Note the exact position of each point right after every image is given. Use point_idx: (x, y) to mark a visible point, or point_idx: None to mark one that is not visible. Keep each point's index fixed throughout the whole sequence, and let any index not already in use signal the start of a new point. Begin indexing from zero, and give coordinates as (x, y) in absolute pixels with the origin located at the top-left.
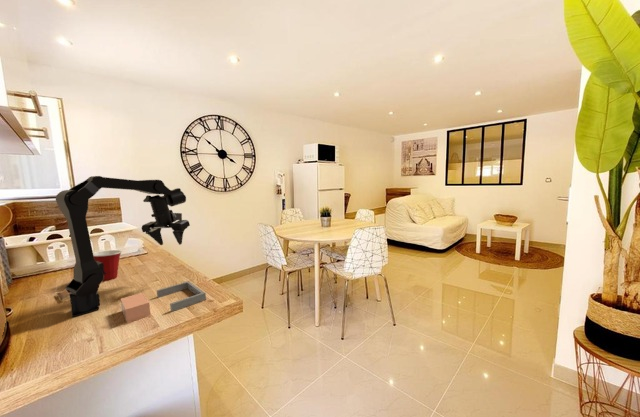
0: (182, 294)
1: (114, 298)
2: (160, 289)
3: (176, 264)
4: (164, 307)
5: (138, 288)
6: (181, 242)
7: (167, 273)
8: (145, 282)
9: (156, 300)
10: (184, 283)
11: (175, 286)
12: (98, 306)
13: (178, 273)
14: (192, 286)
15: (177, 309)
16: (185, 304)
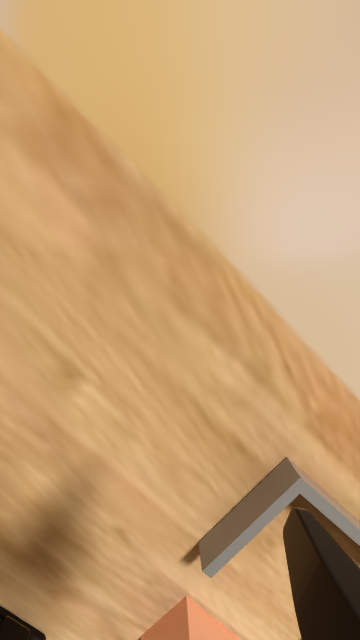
0: None
1: (23, 557)
2: (214, 563)
3: (9, 88)
4: (276, 610)
5: (50, 469)
6: (323, 540)
7: (63, 274)
8: (29, 402)
9: None
10: (291, 499)
11: (262, 525)
12: (30, 633)
13: (134, 278)
14: (346, 533)
15: None
16: None
